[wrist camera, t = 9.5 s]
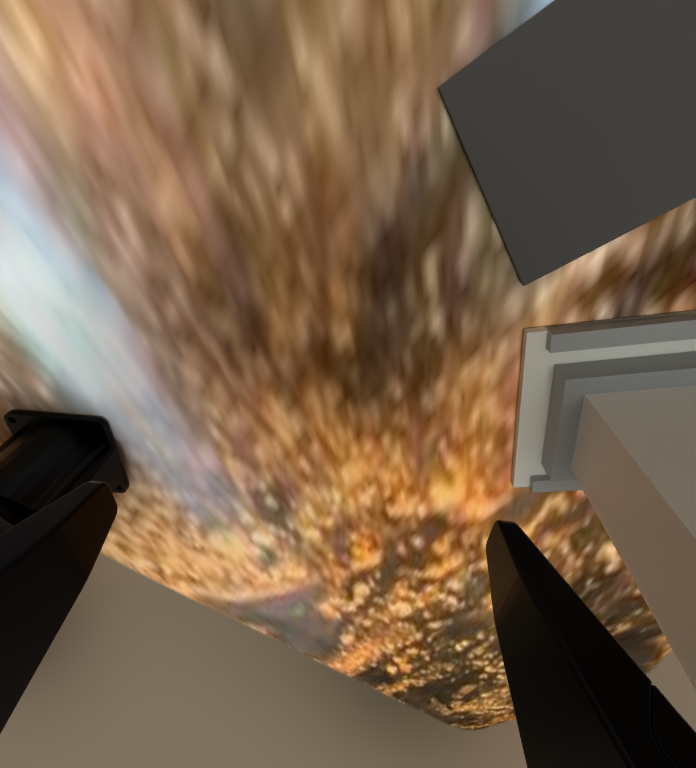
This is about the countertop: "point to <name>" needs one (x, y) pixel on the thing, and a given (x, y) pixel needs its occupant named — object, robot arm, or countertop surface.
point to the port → (580, 346)
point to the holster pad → (581, 125)
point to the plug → (636, 473)
